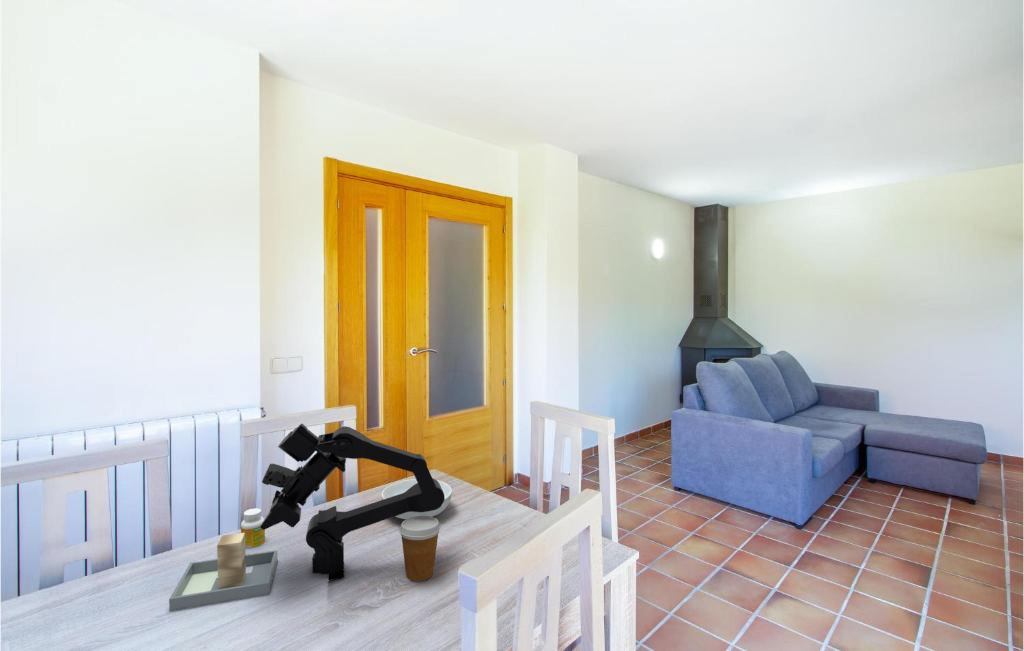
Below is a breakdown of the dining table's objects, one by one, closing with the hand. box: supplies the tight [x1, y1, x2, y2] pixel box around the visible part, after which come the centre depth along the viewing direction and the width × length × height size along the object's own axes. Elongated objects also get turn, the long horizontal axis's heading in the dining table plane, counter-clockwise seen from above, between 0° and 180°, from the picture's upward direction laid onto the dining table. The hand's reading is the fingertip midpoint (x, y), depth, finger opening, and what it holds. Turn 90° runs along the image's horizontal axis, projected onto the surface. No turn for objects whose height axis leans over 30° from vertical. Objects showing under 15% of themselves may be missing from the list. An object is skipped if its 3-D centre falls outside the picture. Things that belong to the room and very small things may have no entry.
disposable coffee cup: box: [398, 516, 441, 582], centre depth 114 cm, size 10×10×12 cm
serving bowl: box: [380, 478, 453, 520], centre depth 146 cm, size 21×21×7 cm
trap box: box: [168, 549, 278, 612], centre depth 107 cm, size 18×14×4 cm
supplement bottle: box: [240, 507, 266, 549], centre depth 124 cm, size 5×5×10 cm
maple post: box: [216, 532, 247, 590], centre depth 107 cm, size 4×4×10 cm
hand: (261, 528), depth 108 cm, fingers closed
